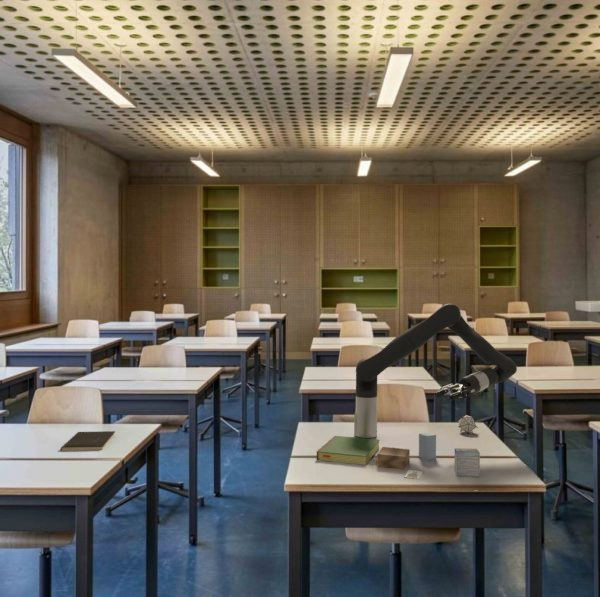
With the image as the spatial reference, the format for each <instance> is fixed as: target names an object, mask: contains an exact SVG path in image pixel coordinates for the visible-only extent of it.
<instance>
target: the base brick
mask: <svg viewBox="0 0 600 597" xmlns="http://www.w3.org/2000/svg"><path fill="white" fill-rule="evenodd" d="M410 450H411V449H410V448H400V447H399V448H397V447H388V446H387V447H386V446H382V447H381V448H380V450H379V451H378V453H377V456H376V457H377V458H376V460H377V463H376V464H377V466H376V467H377V468H382V469H383V468H384V469H390V470H391V469H392V470H401V471H406V469H407V468H408V466H409V464H410Z"/></svg>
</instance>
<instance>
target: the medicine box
mask: <svg viewBox="0 0 600 597" xmlns="http://www.w3.org/2000/svg"><path fill="white" fill-rule="evenodd" d="M480 458H481V452H480V451H479V449H477V448H466V447H465V448H462V447H461V448H459V447H455V448H454V466H453V467H454V469H453V470H454V473H455V476H456V477H480V471H481V470H480V469H481V468H480V465H481V464H480V463H481V462H480V461H481V460H480Z"/></svg>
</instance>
